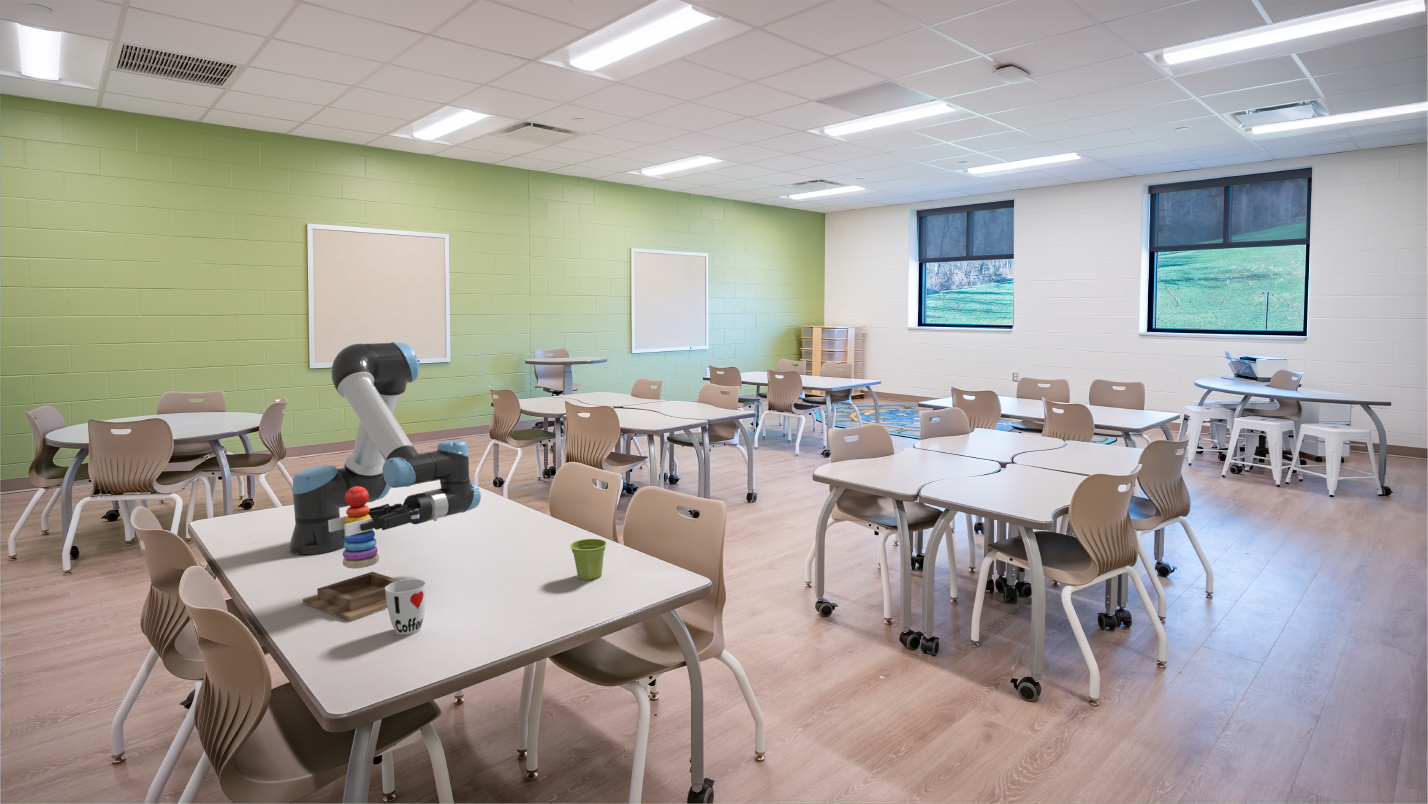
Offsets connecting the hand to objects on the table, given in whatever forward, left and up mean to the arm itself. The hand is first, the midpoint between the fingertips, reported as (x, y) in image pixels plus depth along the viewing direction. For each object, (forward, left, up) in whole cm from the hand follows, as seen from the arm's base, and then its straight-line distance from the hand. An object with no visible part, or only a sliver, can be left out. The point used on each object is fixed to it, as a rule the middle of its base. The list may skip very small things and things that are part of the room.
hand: (337, 528), depth 171 cm
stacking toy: (0, +5, -10) cm, 11 cm away
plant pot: (+35, +46, -19) cm, 61 cm away
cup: (+25, 0, -19) cm, 31 cm away
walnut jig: (0, +5, -19) cm, 19 cm away
